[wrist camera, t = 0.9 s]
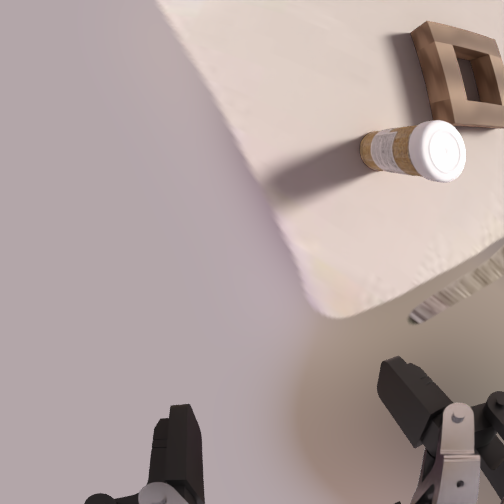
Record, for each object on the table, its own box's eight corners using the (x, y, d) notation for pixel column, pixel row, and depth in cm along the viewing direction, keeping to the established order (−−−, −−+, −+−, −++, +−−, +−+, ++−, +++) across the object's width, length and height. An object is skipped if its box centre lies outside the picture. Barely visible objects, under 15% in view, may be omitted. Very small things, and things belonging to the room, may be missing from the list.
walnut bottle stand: (410, 32, 23) (427, 20, 19) (476, 46, 22) (495, 39, 18) (434, 125, 27) (455, 123, 23) (496, 128, 26) (517, 128, 22)
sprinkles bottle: (397, 138, 28) (471, 133, 15) (390, 175, 29) (462, 190, 16) (361, 126, 28) (425, 109, 15) (354, 165, 29) (415, 172, 16)
